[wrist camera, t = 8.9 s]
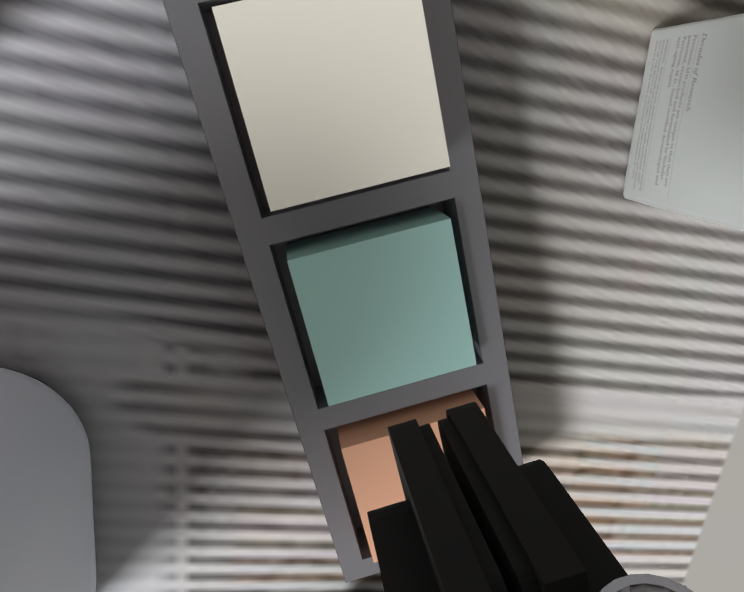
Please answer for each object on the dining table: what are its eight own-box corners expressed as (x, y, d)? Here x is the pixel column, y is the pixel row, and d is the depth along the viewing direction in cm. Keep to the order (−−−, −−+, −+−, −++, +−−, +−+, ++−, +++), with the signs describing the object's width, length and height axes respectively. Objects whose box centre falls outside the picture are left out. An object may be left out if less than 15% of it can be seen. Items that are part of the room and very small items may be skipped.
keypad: (175, -4, 21) (154, -26, 18) (409, -56, 22) (437, -88, 18) (337, 522, 30) (346, 582, 26) (501, 473, 31) (532, 526, 27)
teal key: (285, 244, 22) (286, 260, 20) (432, 206, 23) (450, 218, 21) (323, 376, 25) (328, 406, 22) (457, 340, 25) (476, 364, 23)
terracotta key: (334, 416, 25) (341, 449, 23) (465, 380, 26) (484, 408, 23) (365, 523, 27) (373, 562, 25) (485, 487, 28) (504, 522, 25)
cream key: (219, 18, 19) (211, 7, 16) (397, -22, 19) (415, -39, 17) (271, 199, 21) (270, 211, 18) (430, 158, 21) (450, 166, 19)
